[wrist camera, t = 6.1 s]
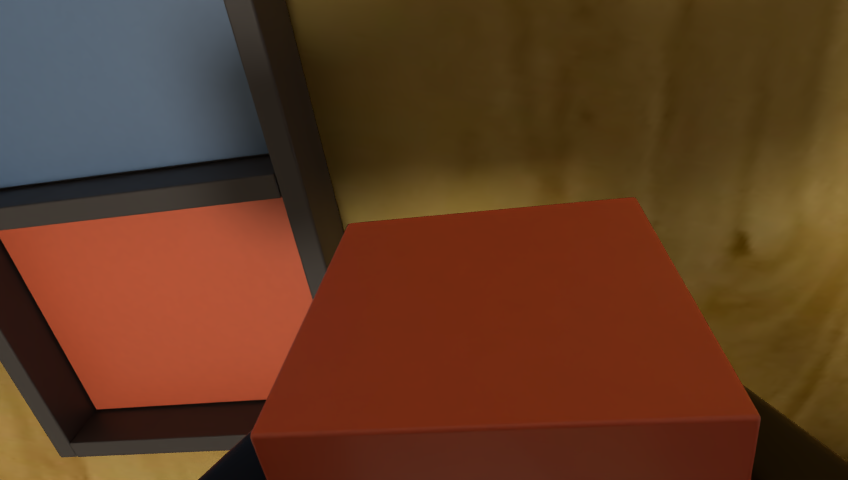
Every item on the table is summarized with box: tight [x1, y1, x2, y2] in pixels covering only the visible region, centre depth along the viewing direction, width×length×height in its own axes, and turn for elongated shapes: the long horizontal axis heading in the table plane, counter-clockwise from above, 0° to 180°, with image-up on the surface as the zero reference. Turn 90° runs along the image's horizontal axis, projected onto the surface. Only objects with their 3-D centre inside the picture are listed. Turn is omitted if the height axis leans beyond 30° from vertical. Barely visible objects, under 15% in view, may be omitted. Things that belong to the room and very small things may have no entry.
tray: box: [0, 0, 344, 457], centre depth 19 cm, size 14×22×3 cm, turn 9°
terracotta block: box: [250, 197, 761, 480], centre depth 8 cm, size 4×4×4 cm
